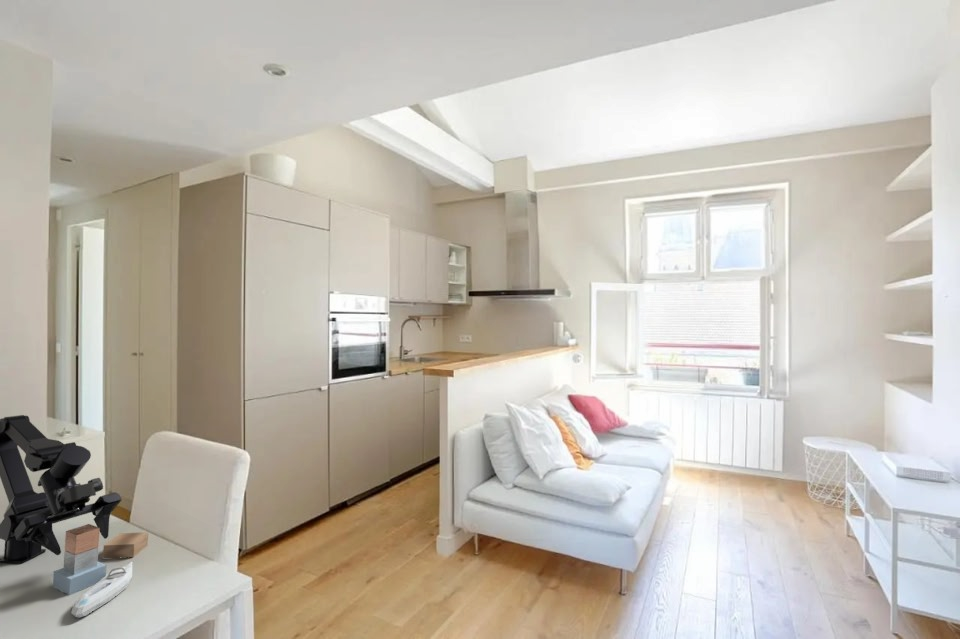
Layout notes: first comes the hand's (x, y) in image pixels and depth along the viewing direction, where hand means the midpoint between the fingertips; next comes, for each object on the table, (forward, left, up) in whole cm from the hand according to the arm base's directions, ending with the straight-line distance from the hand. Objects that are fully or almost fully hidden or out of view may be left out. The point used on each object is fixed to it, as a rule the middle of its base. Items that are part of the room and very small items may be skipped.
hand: (83, 545), depth 106 cm
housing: (-1, 0, -5) cm, 6 cm away
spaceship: (+7, -2, -10) cm, 12 cm away
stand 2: (-2, +15, -9) cm, 18 cm away
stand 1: (-1, 0, -9) cm, 9 cm away
